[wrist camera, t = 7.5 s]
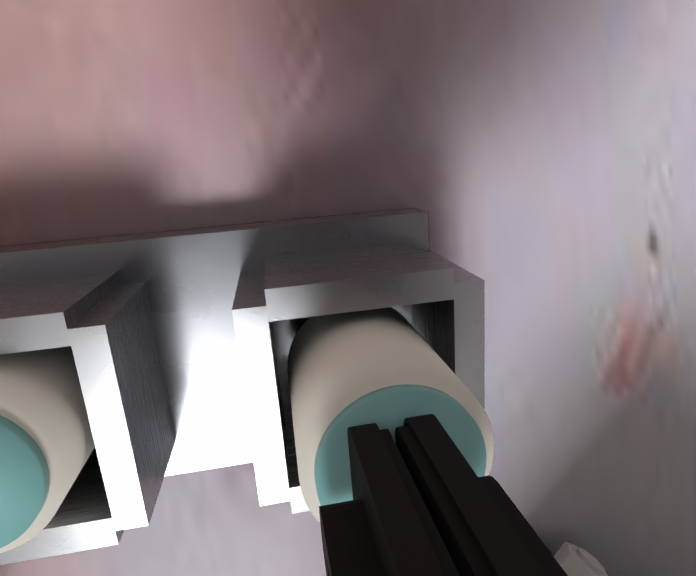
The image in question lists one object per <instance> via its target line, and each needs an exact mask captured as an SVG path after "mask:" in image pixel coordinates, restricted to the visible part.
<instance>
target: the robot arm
mask: <svg viewBox="0 0 696 576" xmlns="http://www.w3.org/2000/svg"><path fill="white" fill-rule="evenodd" d="M347 434H348V447H349V459H350V470H351V482H352V494H353V500H351V501H345V502H340V503H334V504H329V505H323V506H319V514H320V524H321V533H322V542H323V551H324V559H325V567H326V574H327V576H568V575H567V574H566V573H565V571H564V570H563V569H562V567H561V566H560V565H559V563H558V562H557V561H556V559H555V558H554V557H553V555H552V554H551V553H550V551H549V550H548V549H547V547H546V546H545V545H544V543H543V542H542V541H541V539H540V538H539V537H538V535H537V534H536V533H535V531H534V530H533V529H532V527H531V526H530V525H529V523H528V522H527V521H526V519H525V518H524V517H523V515H522V514H521V513H520V511H519V510H518V509H517V507H516V506H515V505H514V503H513V502H512V501H511V499H510V498H509V497H508V495H507V494H506V493H505V491H504V490H503V489H502V487H501V486H500V485H499V483H498V482H497V481H496V480H495V479H494V478H493V477H491V476H483V477H478V476H477V475H476V473H475V472H474V470H473V469H472V468H471V466H470V465H469V463H468V462H467V460H466V459H465V458H464V456H463V455H462V453H461V452H460V450H459V449H458V448H457V446H456V445H455V443H454V442H453V440H452V439H451V438H450V436H449V435H448V433H447V432H446V430H445V429H444V428H443V426H442V425H441V423H440V422H439V420H438V419H437V418H436V416H435V415H434V414H427V415H421V416H415V417H409V418H405V419H404V426H401V427H396V429H395V441H396V443H395V441H394V439H393V437H392V435H391V433H390V431H389V430H388V429H382V430H379V428H378V425H377V424H376V423H371V424H365V425H359V426H352V427H348V429H347Z"/></svg>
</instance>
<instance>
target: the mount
mask: <svg viewBox="0 0 696 576" xmlns="http://www.w3.org/2000/svg"><path fill="white" fill-rule="evenodd" d="M387 307H392V308H394V309H395V310H396V311H398V312H399V313H400V314H401V315H403V316H404V317H405V318H406V319H407V321H408V322H409V323H410V324H411V325H412V326H413V327H414V328H415V330H416V331H417V332H418V333H419V334H420V335H421V336H422V337H423V339H424V340H425V341H426V342H427V343H428V344H429V345H430V346H431V348H432V349H433V350H434V351H435V352H436V353H437V354H438V355H439V357H440V358H441V359H442V360H443V361H444V362H445V363H446V364H447V366H448V367H449V368H450V369H451V370H452V371H453V372H454V373H455V375H456V376H457V377H458V378H459V379H460V380H461V381H462V382H463V384H464V385H465V386H466V387H467V388H468V389H469V390H470V392H471V393H472V394H473V395H474V396H475V397H476V399H477V400H478V401H479V402H480V404H481V405H482V406H483V408H484V280H483V279H481V278H479V277H477V276H475V275H474V274H472V273H470V272H468V271H466V270H465V269H463V268H461V267H459V266H457V265H455V264H454V263H452V262H450V261H448V260H446V259H444V258H443V257H441V256H439V255H437V254H435V253H434V252H429V229H428V212H426V211H423V210H419V209H416V208H408V209H397V210H386V211H376V212H365V213H354V214H344V215H333V216H322V217H312V218H301V219H291V220H280V221H269V222H259V223H248V224H237V225H227V226H216V227H205V228H195V229H184V230H174V231H163V232H152V233H142V234H131V235H120V236H110V237H99V238H88V239H78V240H67V241H56V242H46V243H35V244H25V245H14V246H3V247H0V355H1V354H10V353H18V352H26V351H34V350H42V349H51V348H59V347H67V346H71V348H72V352H73V356H74V360H75V364H76V369H77V373H78V377H79V381H80V385H81V389H82V394H83V398H84V402H85V406H86V410H87V415H88V419H89V423H90V427H91V431H92V436H93V440H94V444H95V448H94V449H93V451H92V453H91V455H90V456H89V458H88V460H87V461H86V463H85V465H84V466H83V468H82V470H81V471H80V473H79V475H78V477H77V478H76V480H75V482H74V483H73V485H72V487H71V488H70V490H69V492H68V493H67V495H66V497H65V498H64V500H63V502H62V504H61V505H60V507H59V509H58V510H57V512H56V514H55V515H54V517H53V518H52V519H51V521H50V522H49V523H48V524H47V526H46V527H45V528H44V529H43V530H42V531H41V532H39V533H38V534H37V535H36V536H35V537H33V538H32V539H30V540H29V541H27V542H25V543H24V544H22V545H20V546H18V547H16V548H14V549H11V550H9V551H6V552H3V553H0V565H5V564H10V563H16V562H22V561H27V560H33V559H39V558H44V557H50V556H56V555H61V554H67V553H73V552H79V551H84V550H90V549H96V548H101V547H107V546H113V545H118V544H119V542H120V539H121V537H122V534H123V531H124V530H126V529H132V528H137V527H143V526H149V522H150V519H151V516H152V513H153V510H154V507H155V504H156V500H157V497H158V494H159V491H160V488H161V485H162V482H163V478H164V476H170V475H177V474H183V473H189V472H195V471H202V470H208V469H214V468H220V467H227V466H233V465H239V464H245V463H252V462H254V468H255V475H256V482H257V489H258V496H259V503H260V506H265V505H271V504H277V503H282V502H288V501H291V509H292V514H294V513H300V512H305V511H310V510H309V508H308V506H307V504H306V503H305V500H304V497H303V495H302V492H301V487H300V482H299V475H298V466H297V456H296V447H295V438H294V428H293V419H292V410H291V400H290V391H289V382H288V371H287V361H288V354H289V350H290V346H291V344H292V341H293V339H294V337H295V335H296V334H297V332H298V330H299V329H300V328H301V326H302V325H303V324H304V323H305V322H306V321H307V320H308V319H309V318H310V317H313V316H321V315H330V314H338V313H346V312H354V311H363V310H371V309H379V308H387Z"/></svg>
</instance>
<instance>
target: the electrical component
mask: <svg viewBox="0 0 696 576" xmlns="http://www.w3.org/2000/svg"><path fill="white" fill-rule="evenodd" d="M553 557H554V558H555V559H556V561H557V562H558V563H559V565H560V566H561V567H562V569H563V570H564V571H565V573H566V574H567V575H568V576H608V574H607V573H606V572H605V571H606V569H605V568H604V567H603V566H602V565H601V564H600V562H599V561H598V560H597V559H596V558H595V557H593V556H592V555H591V554H590V553H588V552H587V551H586V550H585V549H581V548H579V547H578V546H576V545H575V544H571V543H568V542H564V544H563V545H562V546H561V547H560V548H559V550H558V551H557V552H556V553H555V555H554V556H553Z"/></svg>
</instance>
